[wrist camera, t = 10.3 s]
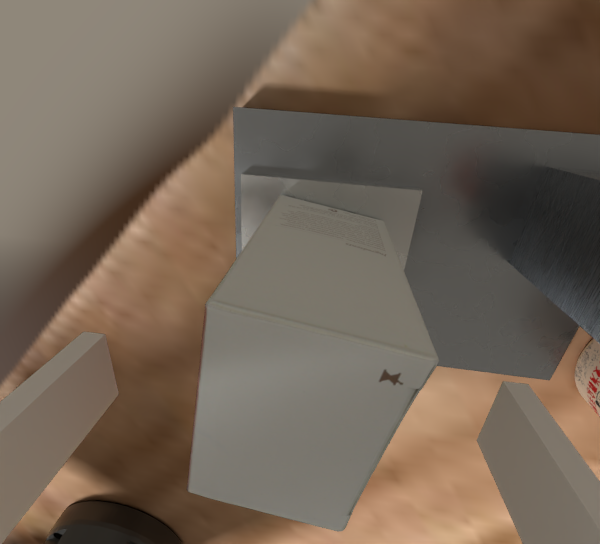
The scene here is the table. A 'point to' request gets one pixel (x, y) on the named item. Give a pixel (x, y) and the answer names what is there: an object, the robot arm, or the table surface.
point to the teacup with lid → (589, 375)
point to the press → (450, 221)
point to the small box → (306, 365)
